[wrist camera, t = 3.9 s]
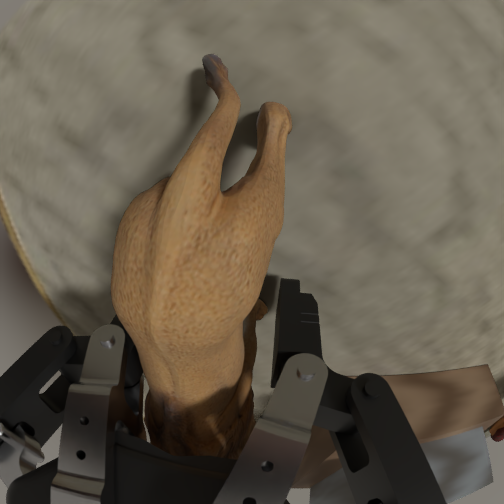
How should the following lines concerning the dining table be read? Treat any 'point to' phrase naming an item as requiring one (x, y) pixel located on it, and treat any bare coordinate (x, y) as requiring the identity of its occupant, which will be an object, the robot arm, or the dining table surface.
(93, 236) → the dining table surface
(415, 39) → the dining table surface
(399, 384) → the two-tone block
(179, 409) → the lion figurine
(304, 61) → the dining table surface
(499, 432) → the donut
